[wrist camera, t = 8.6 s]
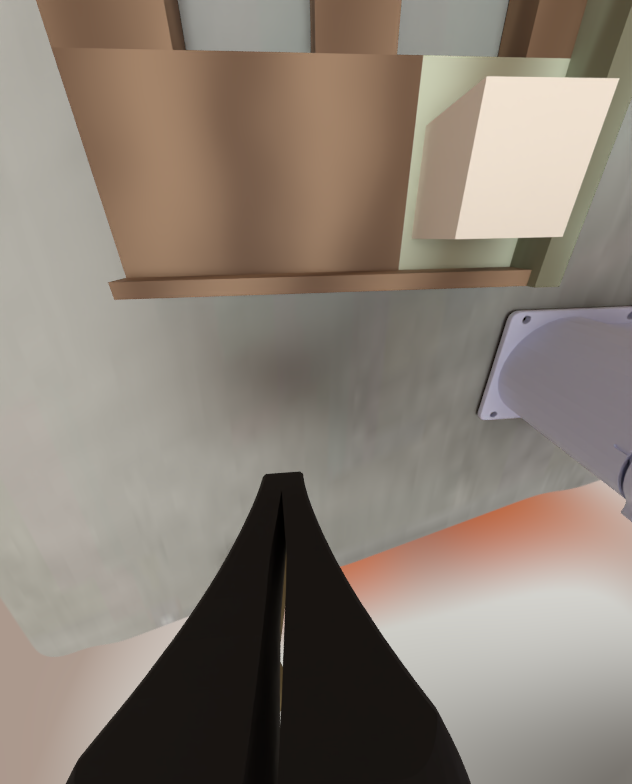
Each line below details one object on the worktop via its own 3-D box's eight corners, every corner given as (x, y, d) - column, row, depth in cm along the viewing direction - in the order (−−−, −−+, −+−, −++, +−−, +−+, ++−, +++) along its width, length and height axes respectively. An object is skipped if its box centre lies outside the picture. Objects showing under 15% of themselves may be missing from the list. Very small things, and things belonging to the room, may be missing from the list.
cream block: (519, 126, 12) (619, 78, 8) (492, 236, 13) (562, 236, 10) (425, 125, 11) (486, 76, 8) (411, 238, 13) (454, 239, 10)
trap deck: (627, -163, 10) (819, -392, 6) (501, 275, 16) (559, 286, 13) (4, -210, 8) (-202, -535, 5) (149, 286, 15) (107, 302, 12)
